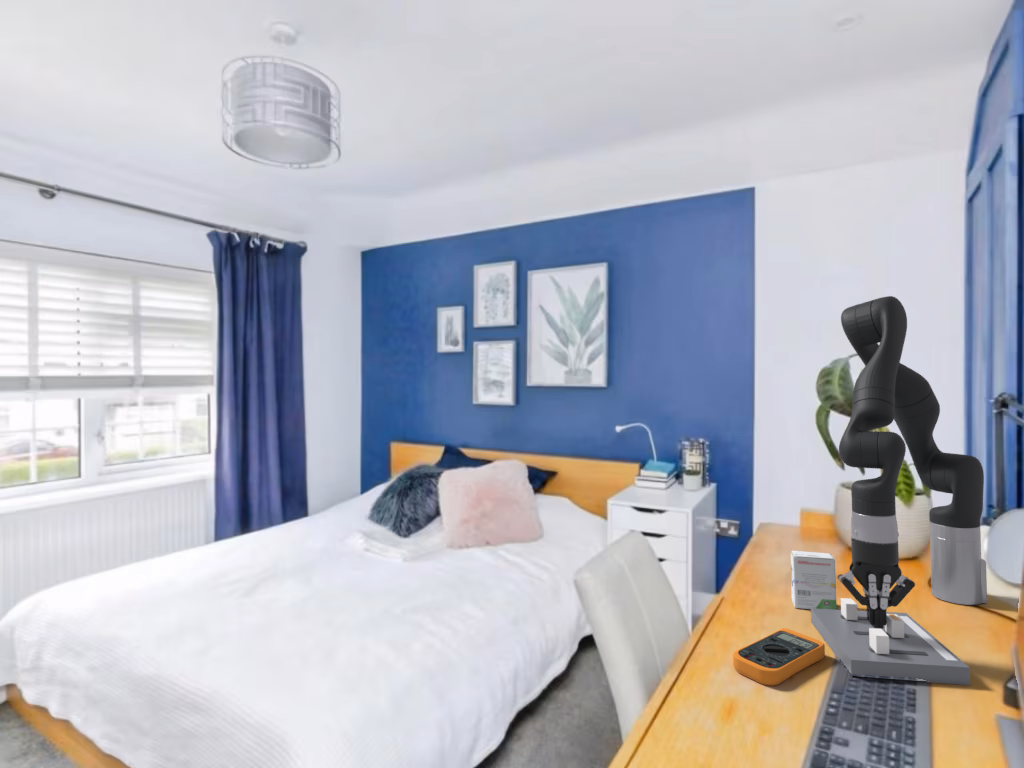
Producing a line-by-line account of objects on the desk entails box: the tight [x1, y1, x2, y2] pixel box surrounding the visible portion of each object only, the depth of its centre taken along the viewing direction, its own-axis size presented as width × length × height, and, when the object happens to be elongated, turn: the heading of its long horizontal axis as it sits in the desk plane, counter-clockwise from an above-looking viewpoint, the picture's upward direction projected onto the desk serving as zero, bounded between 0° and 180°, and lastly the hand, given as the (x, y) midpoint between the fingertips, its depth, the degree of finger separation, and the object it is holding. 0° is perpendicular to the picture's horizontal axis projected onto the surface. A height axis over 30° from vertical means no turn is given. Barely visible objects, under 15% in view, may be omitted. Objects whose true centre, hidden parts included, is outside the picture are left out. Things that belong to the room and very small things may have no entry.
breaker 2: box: [869, 628, 889, 654], centre depth 100 cm, size 2×3×3 cm, turn 168°
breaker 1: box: [840, 597, 858, 620], centre depth 114 cm, size 2×3×3 cm, turn 168°
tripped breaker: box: [885, 614, 904, 638], centre depth 106 cm, size 2×3×3 cm, turn 168°
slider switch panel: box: [810, 608, 971, 686], centre depth 106 cm, size 18×22×3 cm
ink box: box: [790, 550, 838, 610], centre depth 127 cm, size 9×5×12 cm, turn 70°
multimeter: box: [732, 628, 826, 687], centre depth 103 cm, size 9×18×3 cm, turn 123°
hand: (876, 626), depth 106 cm, fingers closed
